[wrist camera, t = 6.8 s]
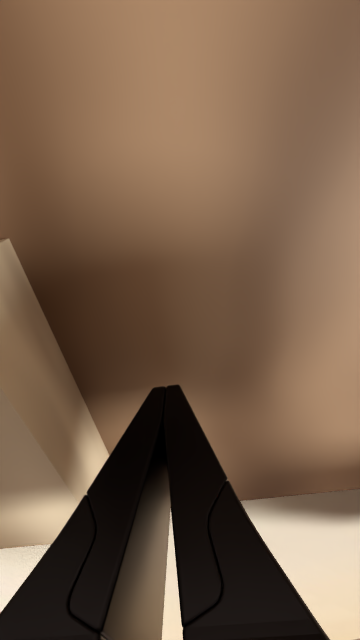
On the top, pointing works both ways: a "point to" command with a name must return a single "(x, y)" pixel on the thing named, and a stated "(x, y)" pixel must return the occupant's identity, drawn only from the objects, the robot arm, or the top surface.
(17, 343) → the birch plate
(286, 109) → the bench board
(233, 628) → the robot arm
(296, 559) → the top surface
